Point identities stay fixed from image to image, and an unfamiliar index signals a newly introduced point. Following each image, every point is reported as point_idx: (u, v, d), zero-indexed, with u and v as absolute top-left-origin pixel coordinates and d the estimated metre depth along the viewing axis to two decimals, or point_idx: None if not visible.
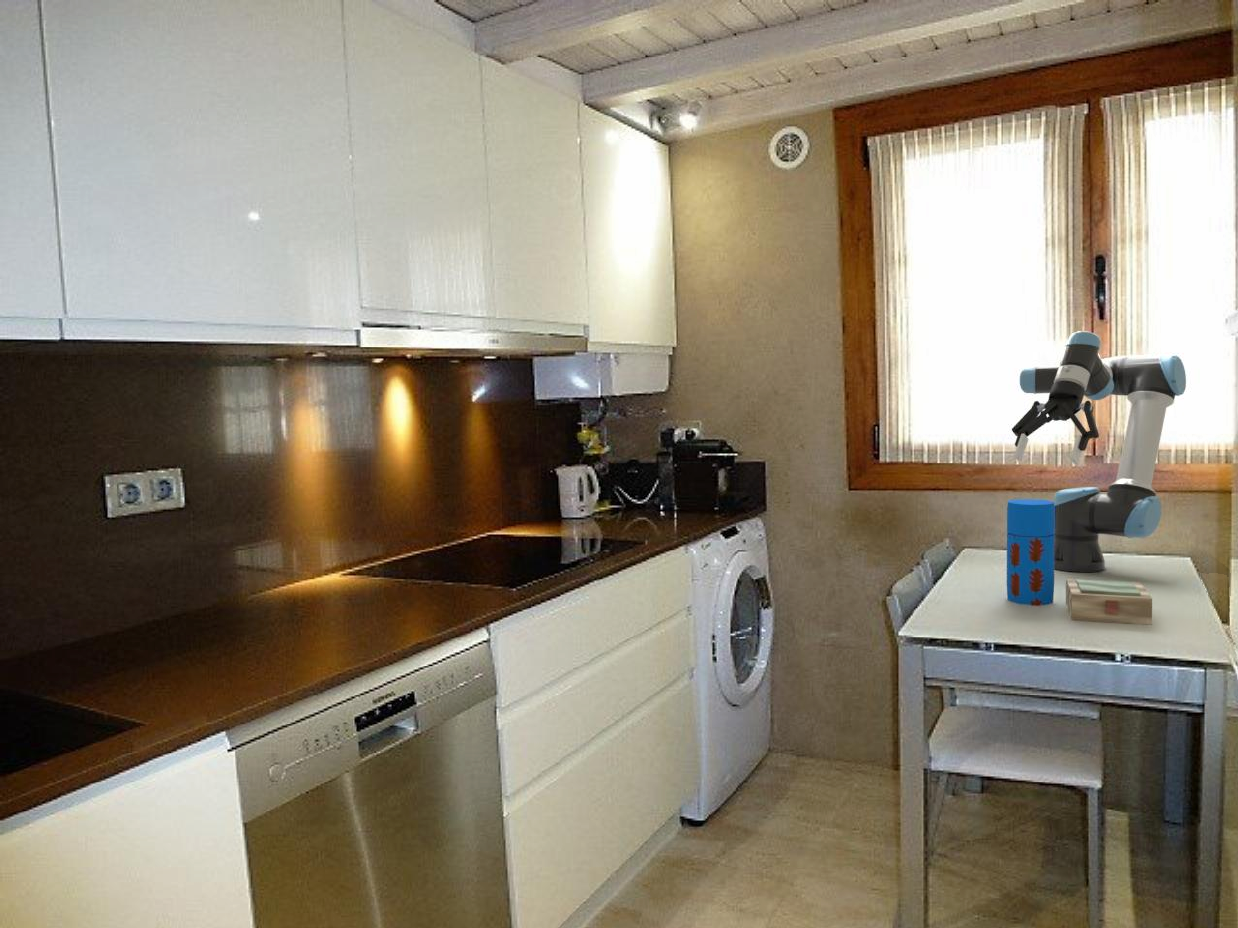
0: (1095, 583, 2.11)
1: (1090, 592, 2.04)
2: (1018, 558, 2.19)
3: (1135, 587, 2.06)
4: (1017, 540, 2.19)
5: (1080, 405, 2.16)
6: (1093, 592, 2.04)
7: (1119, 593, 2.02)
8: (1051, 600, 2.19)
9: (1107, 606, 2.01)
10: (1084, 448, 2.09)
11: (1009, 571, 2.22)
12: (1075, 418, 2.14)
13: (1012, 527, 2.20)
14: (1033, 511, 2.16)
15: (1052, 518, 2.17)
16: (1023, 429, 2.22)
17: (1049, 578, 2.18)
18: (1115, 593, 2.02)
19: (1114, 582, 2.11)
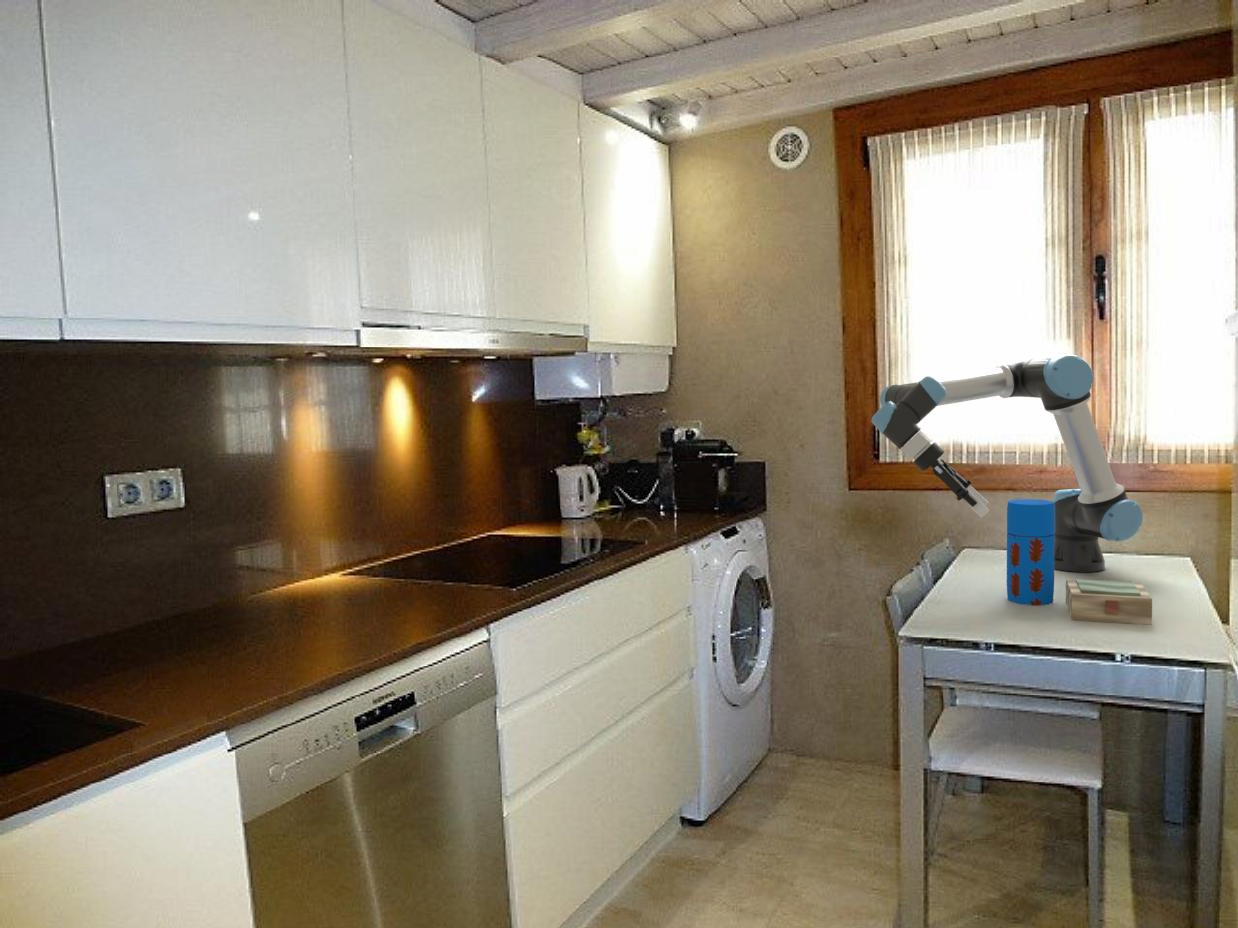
0: (1095, 583, 2.11)
1: (1090, 592, 2.04)
2: (1018, 558, 2.19)
3: (1135, 587, 2.06)
4: (1017, 540, 2.19)
5: None
6: (1093, 592, 2.04)
7: (1119, 593, 2.02)
8: (1051, 600, 2.19)
9: (1107, 606, 2.01)
10: (974, 503, 2.18)
11: (1009, 571, 2.22)
12: None
13: (1012, 527, 2.20)
14: (1033, 511, 2.16)
15: (1052, 518, 2.17)
16: None
17: (1049, 578, 2.18)
18: (1115, 593, 2.02)
19: (1114, 582, 2.11)
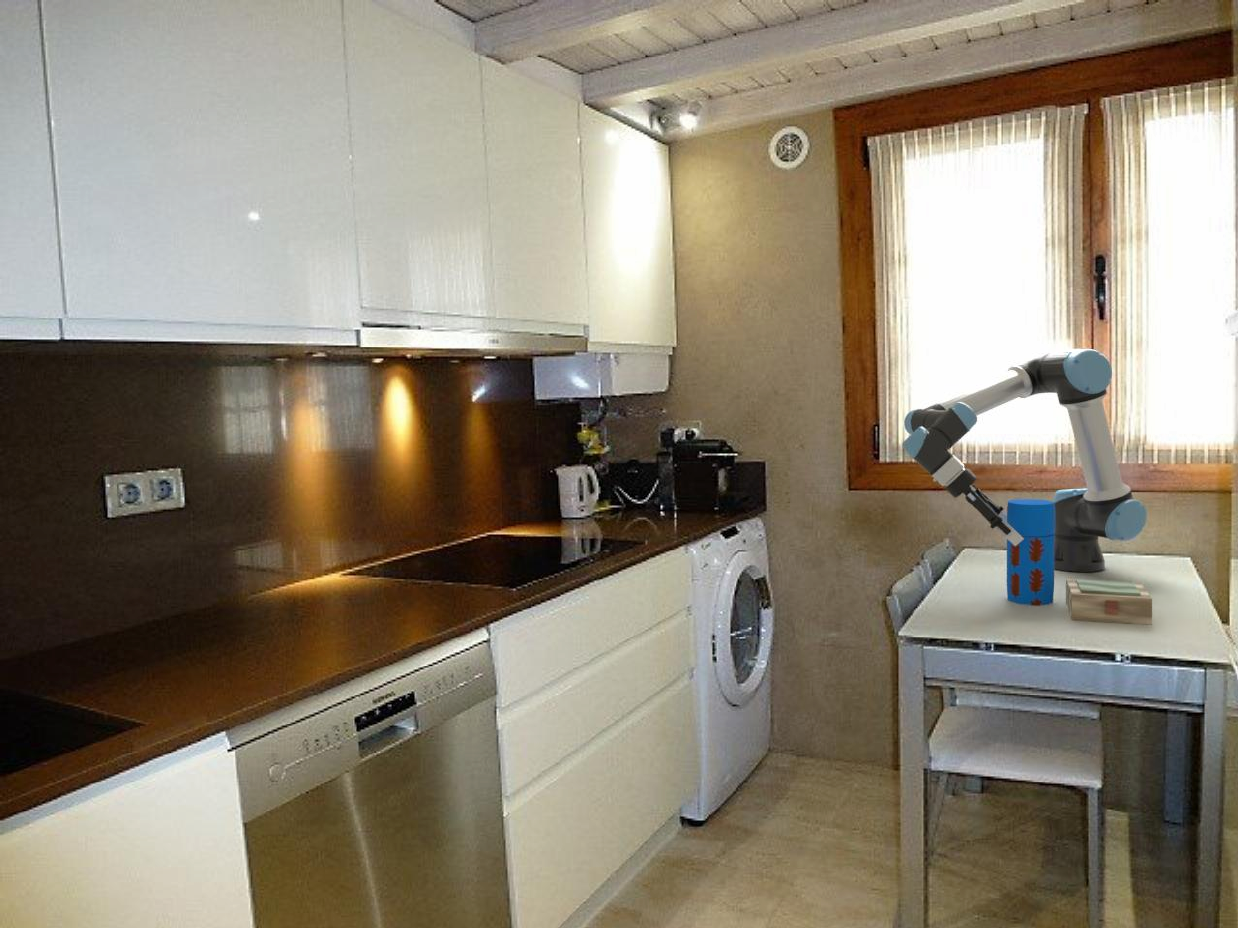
0: (1095, 583, 2.11)
1: (1090, 592, 2.04)
2: (1018, 558, 2.19)
3: (1135, 587, 2.06)
4: None
5: None
6: (1093, 592, 2.04)
7: (1119, 593, 2.02)
8: (1051, 600, 2.19)
9: (1107, 606, 2.01)
10: (1008, 531, 2.15)
11: (1009, 571, 2.22)
12: None
13: (1012, 527, 2.20)
14: (1033, 511, 2.16)
15: (1052, 518, 2.17)
16: None
17: (1049, 578, 2.18)
18: (1115, 593, 2.02)
19: (1114, 582, 2.11)
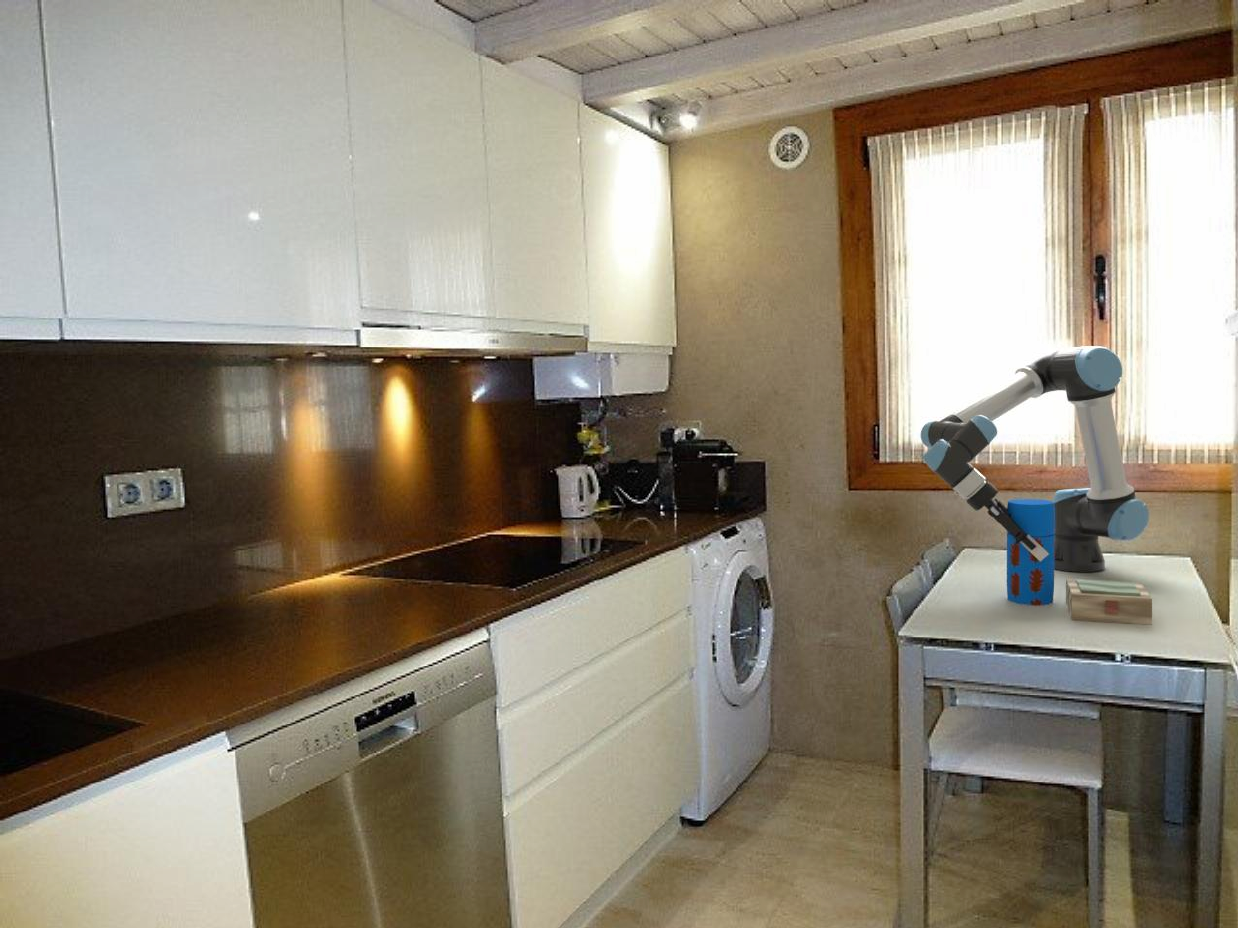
0: (1095, 583, 2.11)
1: (1090, 592, 2.04)
2: (1018, 557, 2.19)
3: (1135, 587, 2.06)
4: None
5: None
6: (1093, 592, 2.04)
7: (1119, 593, 2.02)
8: (1051, 600, 2.19)
9: (1107, 606, 2.01)
10: (1033, 547, 2.15)
11: (1009, 571, 2.22)
12: None
13: None
14: (1033, 511, 2.16)
15: (1052, 518, 2.17)
16: None
17: (1049, 578, 2.18)
18: (1115, 593, 2.02)
19: (1114, 582, 2.11)
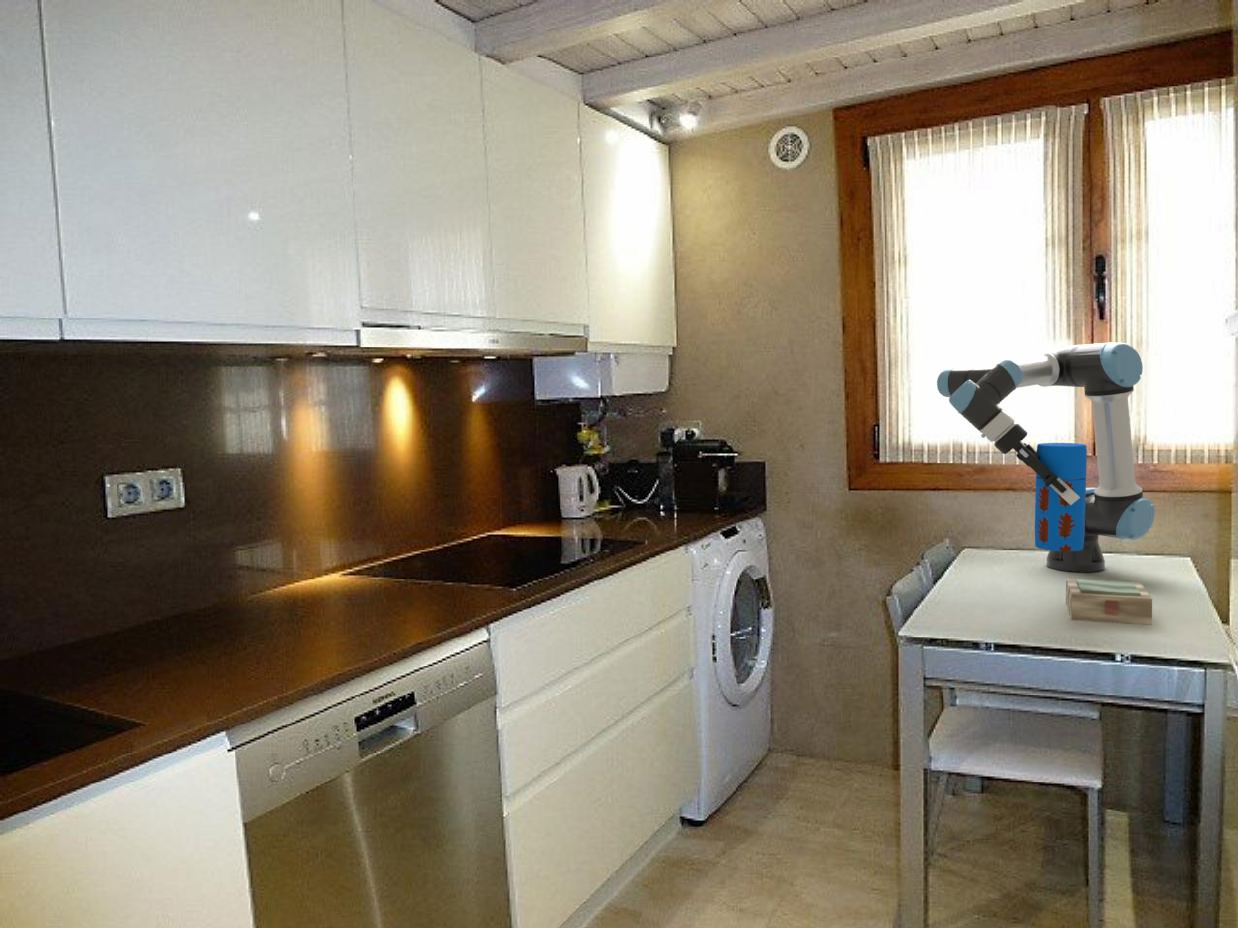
0: (1095, 583, 2.11)
1: (1090, 592, 2.04)
2: (1047, 502, 2.10)
3: (1135, 587, 2.06)
4: None
5: None
6: (1093, 592, 2.04)
7: (1119, 593, 2.02)
8: (1081, 547, 2.11)
9: (1107, 606, 2.01)
10: (1064, 490, 2.06)
11: (1037, 516, 2.14)
12: None
13: None
14: (1064, 452, 2.07)
15: (1084, 461, 2.08)
16: None
17: (1079, 523, 2.09)
18: (1115, 593, 2.02)
19: (1114, 582, 2.11)
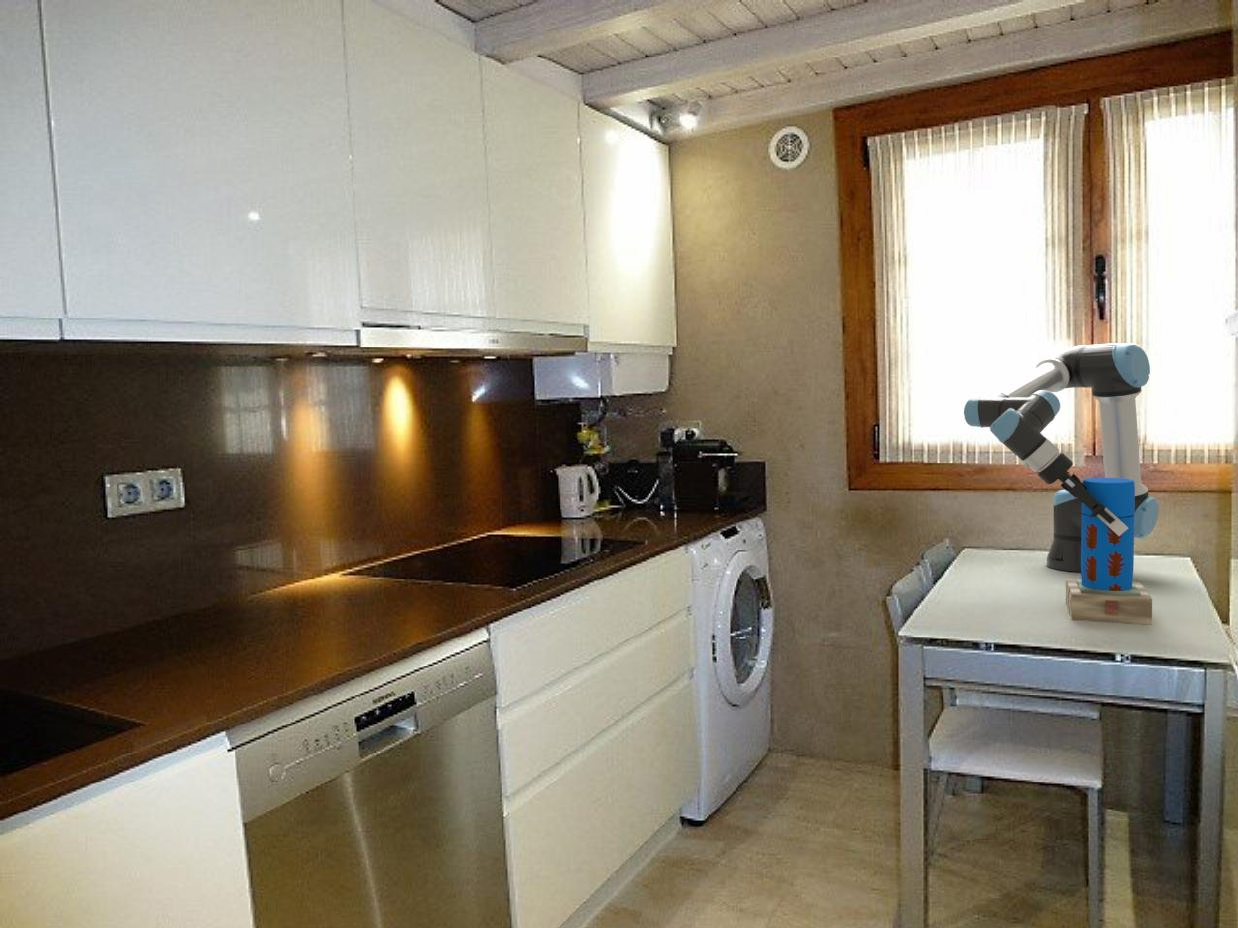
0: None
1: (1090, 592, 2.04)
2: (1096, 540, 2.04)
3: (1135, 587, 2.06)
4: (1094, 521, 2.04)
5: None
6: (1093, 592, 2.04)
7: (1119, 593, 2.02)
8: (1131, 586, 2.04)
9: (1107, 606, 2.01)
10: (1112, 520, 1.99)
11: (1084, 555, 2.07)
12: None
13: None
14: (1113, 489, 2.01)
15: (1133, 497, 2.02)
16: None
17: (1129, 562, 2.03)
18: (1115, 593, 2.02)
19: None
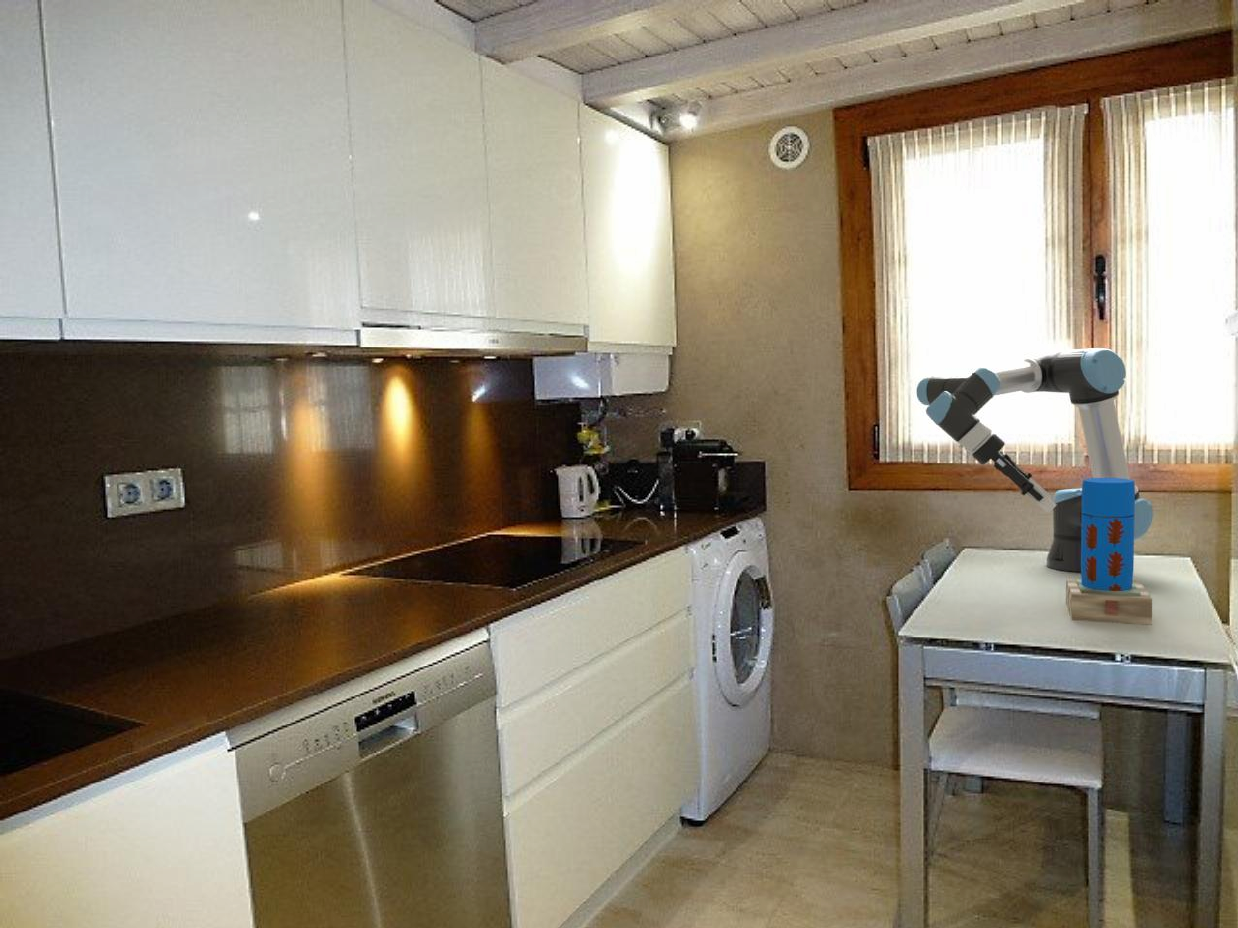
0: None
1: (1090, 592, 2.04)
2: (1096, 540, 2.04)
3: (1135, 587, 2.06)
4: (1094, 521, 2.04)
5: None
6: (1093, 592, 2.04)
7: (1119, 593, 2.02)
8: (1131, 586, 2.04)
9: (1107, 606, 2.01)
10: (1040, 498, 2.06)
11: (1084, 555, 2.07)
12: None
13: (1088, 507, 2.05)
14: (1113, 489, 2.01)
15: (1133, 497, 2.02)
16: None
17: (1129, 562, 2.03)
18: (1115, 593, 2.02)
19: None
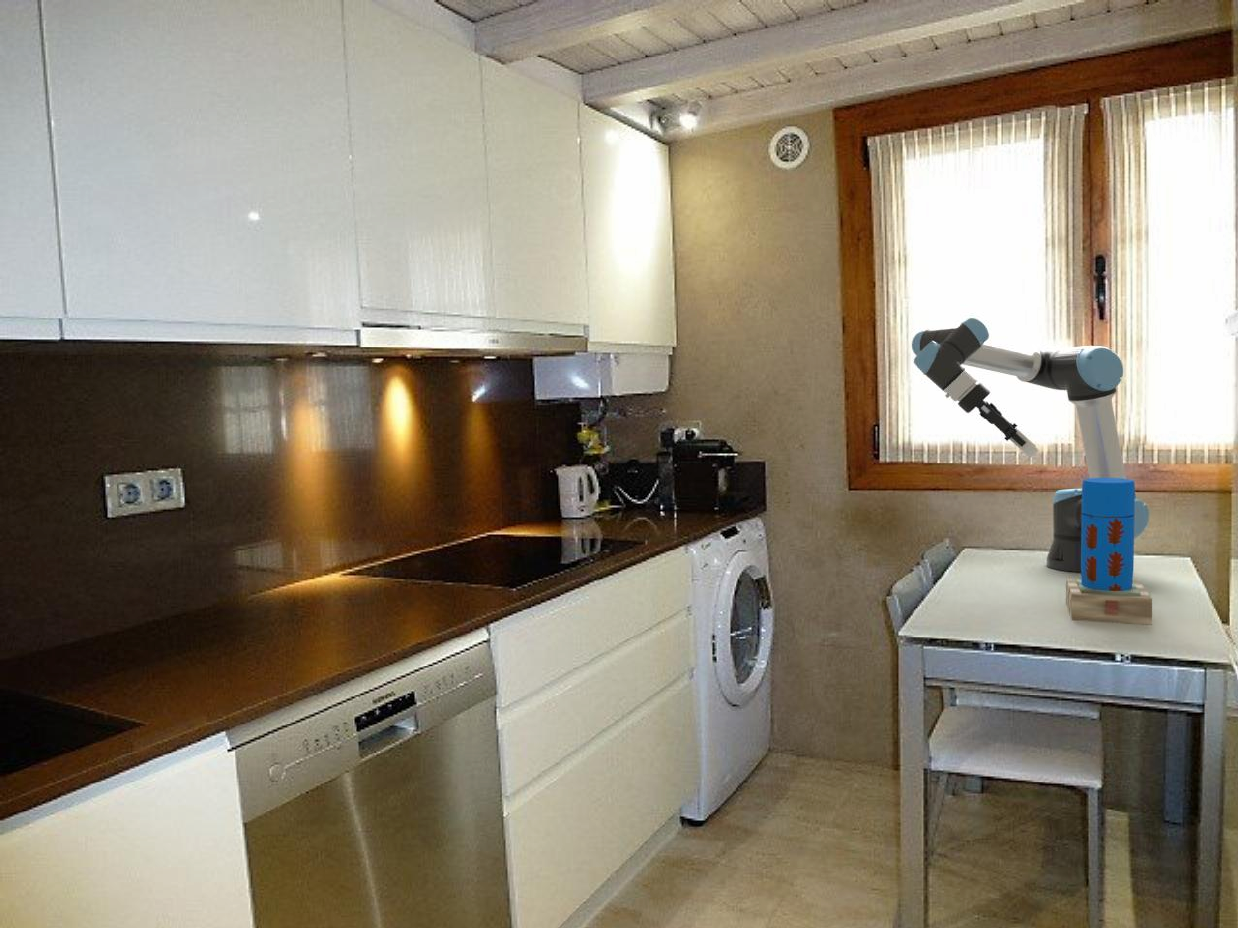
0: None
1: (1090, 592, 2.04)
2: (1096, 540, 2.04)
3: (1135, 587, 2.06)
4: (1094, 521, 2.04)
5: None
6: (1093, 592, 2.04)
7: (1119, 593, 2.02)
8: (1131, 586, 2.04)
9: (1107, 606, 2.01)
10: (1023, 443, 2.11)
11: (1084, 555, 2.07)
12: None
13: (1088, 507, 2.05)
14: (1113, 489, 2.01)
15: (1133, 497, 2.02)
16: None
17: (1129, 562, 2.03)
18: (1115, 593, 2.02)
19: None
